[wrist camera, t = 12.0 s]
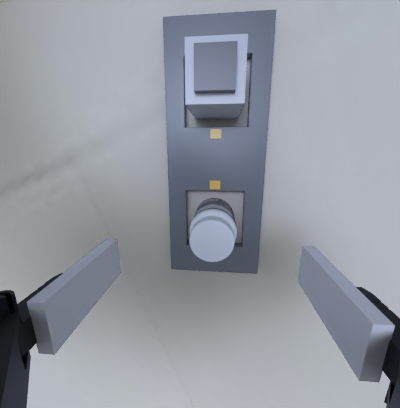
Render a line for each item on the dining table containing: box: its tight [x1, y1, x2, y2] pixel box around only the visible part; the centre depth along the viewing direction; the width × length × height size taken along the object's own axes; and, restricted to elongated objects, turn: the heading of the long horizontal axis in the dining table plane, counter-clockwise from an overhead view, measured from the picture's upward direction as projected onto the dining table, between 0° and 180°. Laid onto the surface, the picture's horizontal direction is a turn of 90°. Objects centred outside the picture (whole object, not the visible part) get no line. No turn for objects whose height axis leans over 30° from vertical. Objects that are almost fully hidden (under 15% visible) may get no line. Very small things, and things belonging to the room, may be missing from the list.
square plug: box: [185, 34, 248, 119], centre depth 19 cm, size 5×5×8 cm
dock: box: [163, 10, 276, 274], centre depth 24 cm, size 11×28×2 cm, turn 0°
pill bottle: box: [189, 198, 237, 262], centre depth 22 cm, size 5×5×8 cm
